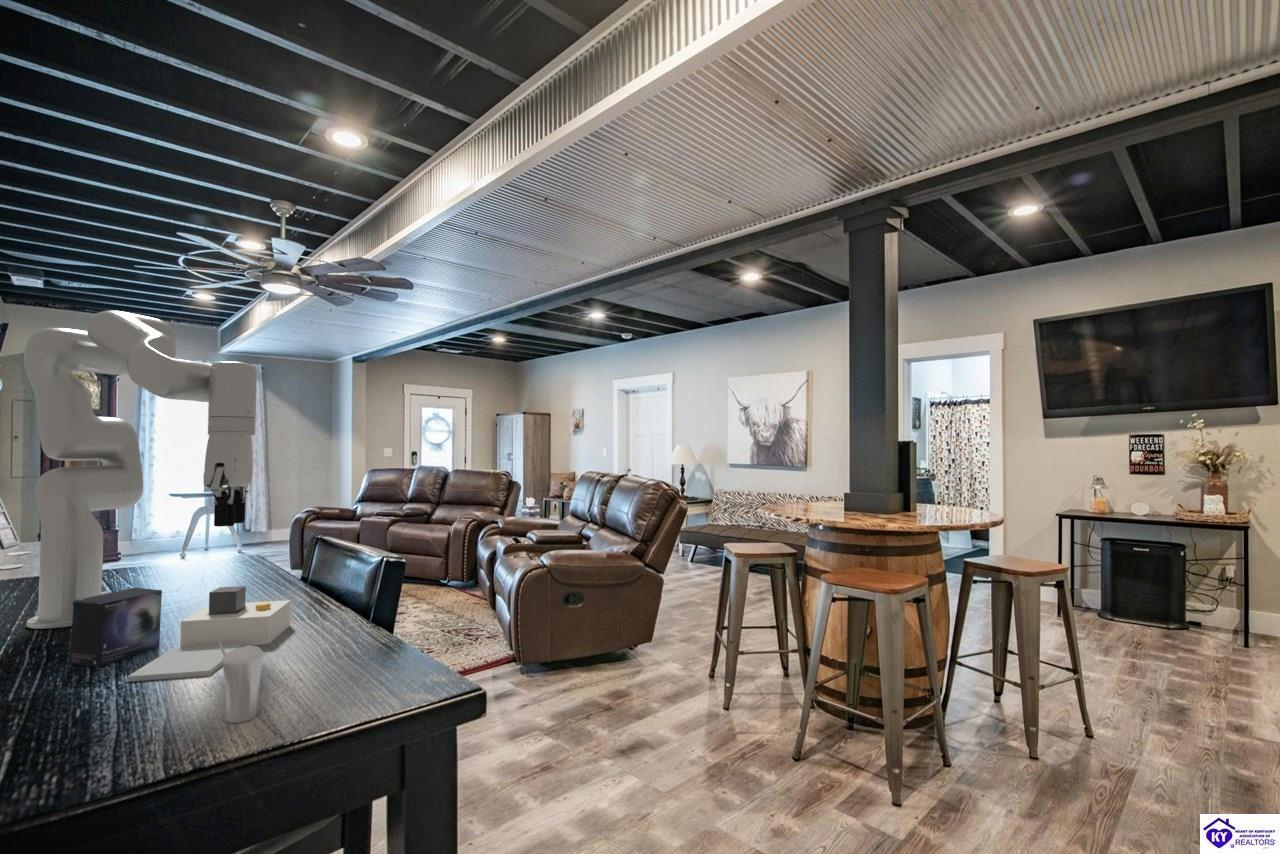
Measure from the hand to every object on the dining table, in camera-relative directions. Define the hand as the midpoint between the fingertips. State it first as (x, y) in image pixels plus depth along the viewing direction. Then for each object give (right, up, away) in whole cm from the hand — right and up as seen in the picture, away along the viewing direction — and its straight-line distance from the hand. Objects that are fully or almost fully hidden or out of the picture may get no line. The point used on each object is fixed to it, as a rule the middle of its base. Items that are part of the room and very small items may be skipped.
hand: (229, 523), depth 115 cm
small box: (-12, -21, -11) cm, 27 cm away
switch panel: (+2, -21, 0) cm, 21 cm away
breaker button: (0, -18, -1) cm, 18 cm away
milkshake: (+25, -20, -35) cm, 47 cm away
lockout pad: (+3, -21, -14) cm, 25 cm away
